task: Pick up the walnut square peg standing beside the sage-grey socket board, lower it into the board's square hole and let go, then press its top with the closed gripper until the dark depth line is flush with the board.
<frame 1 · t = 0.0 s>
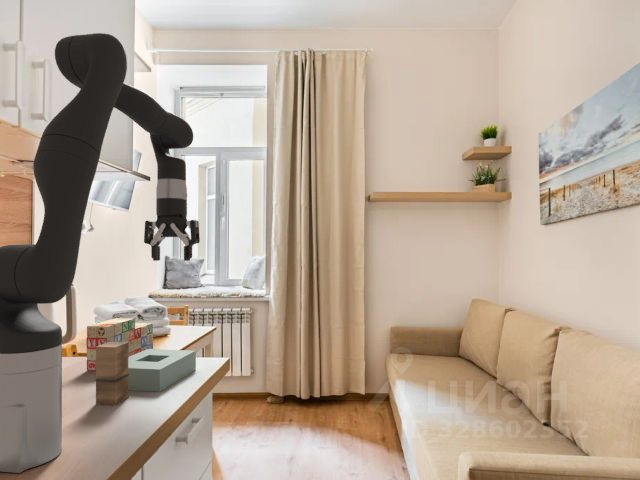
hand: (171, 260, 113), 29 cm above the table, fingers open, 8 cm apart
stack of blocks: (122, 362, 126), on the table
walnut peg: (112, 400, 93), on the table
socket board: (153, 378, 109), on the table
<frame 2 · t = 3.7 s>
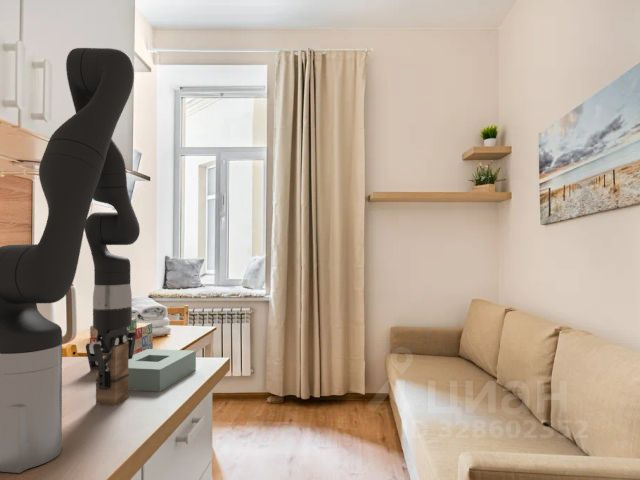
hand: (112, 384, 93), 3 cm above the table, fingers closed on walnut peg, 4 cm apart
walnut peg: (112, 400, 93), on the table, touching gripper
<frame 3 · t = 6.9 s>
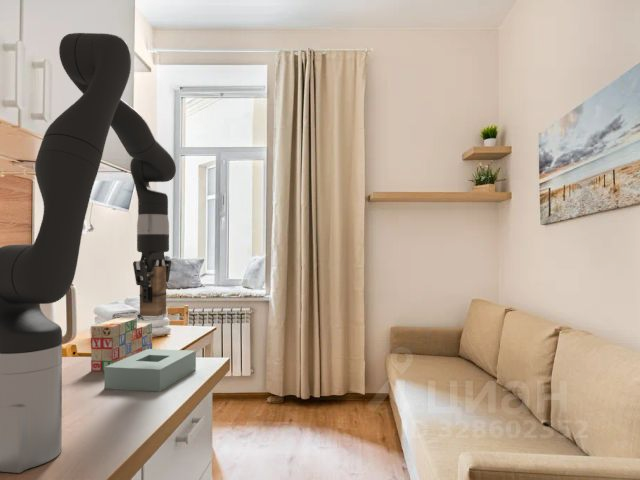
hand: (153, 301, 109), 19 cm above the table, fingers closed on walnut peg, 4 cm apart
walnut peg: (153, 314, 109), point 16 cm above the table, touching gripper
everything else where it was.
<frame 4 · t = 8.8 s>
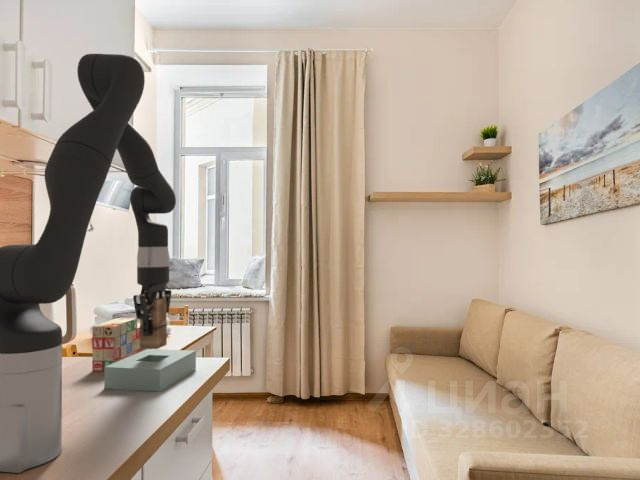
hand: (153, 333, 109), 11 cm above the table, fingers closed on walnut peg, 4 cm apart
walnut peg: (153, 346, 109), point 8 cm above the table, touching gripper
everything else where it was.
when the fingers open (6 cm above the table, at t = 10.4 s): walnut peg drops 3 cm, resting in socket board.
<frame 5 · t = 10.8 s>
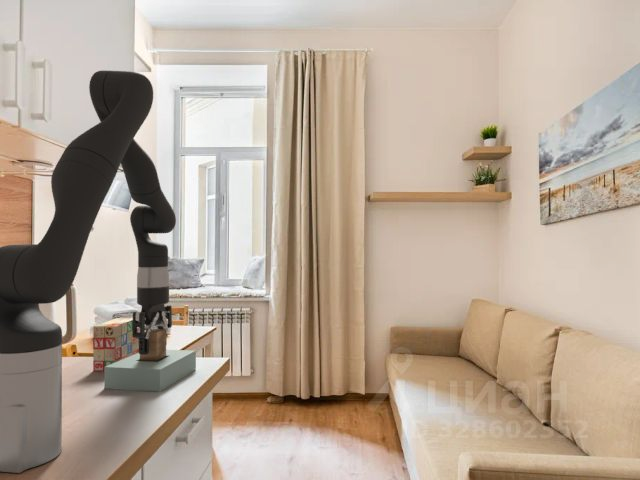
hand: (153, 350, 109), 7 cm above the table, fingers open, 8 cm apart
walnut peg: (153, 378, 109), resting in socket board
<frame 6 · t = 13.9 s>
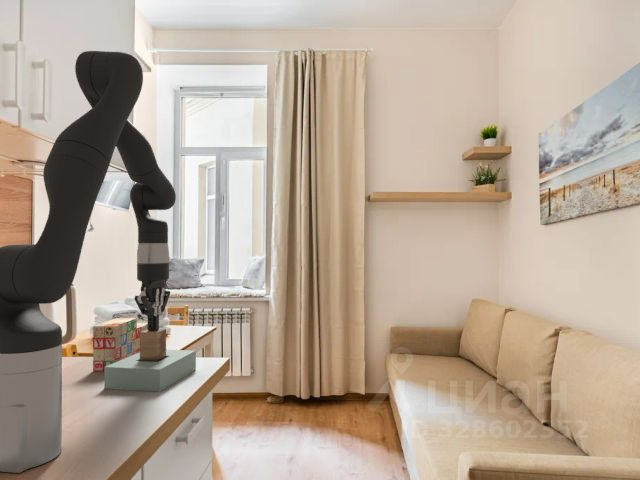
hand: (153, 330, 109), 12 cm above the table, fingers closed
walnut peg: (153, 378, 109), resting in socket board, touching gripper
everything else where it was.
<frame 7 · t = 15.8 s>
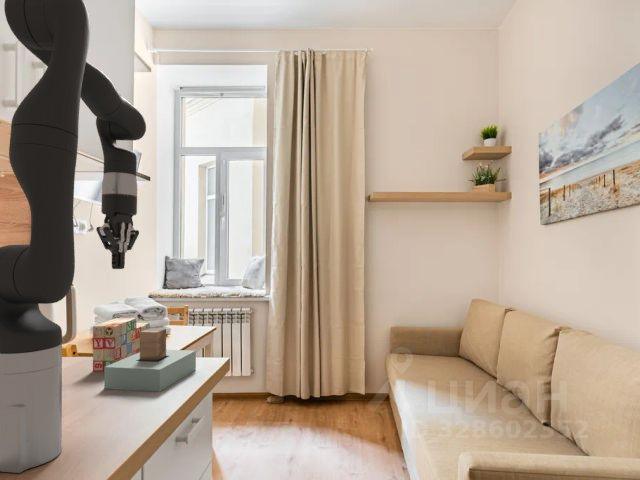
hand: (118, 268, 101), 28 cm above the table, fingers closed
walnut peg: (153, 378, 109), resting in socket board
everything else where it was.
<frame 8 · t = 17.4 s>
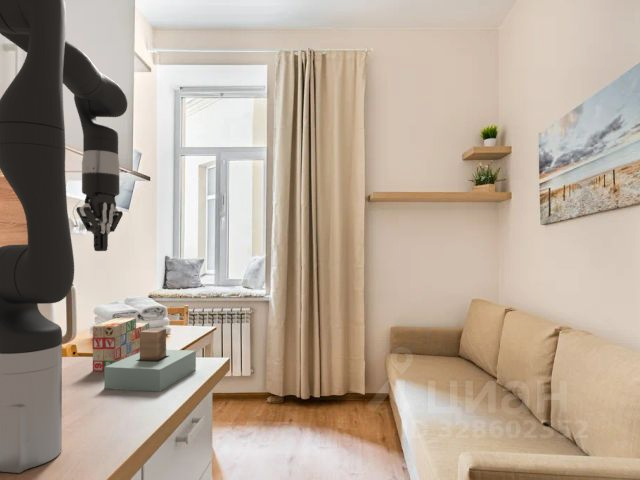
hand: (100, 250, 97), 32 cm above the table, fingers closed
nothing on the table moved.
at the end: walnut peg 0.1 cm off-centre on the socket board, point 0.0 cm above the socket board's base; walnut peg tilted 0°; the gripper is holding nothing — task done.
